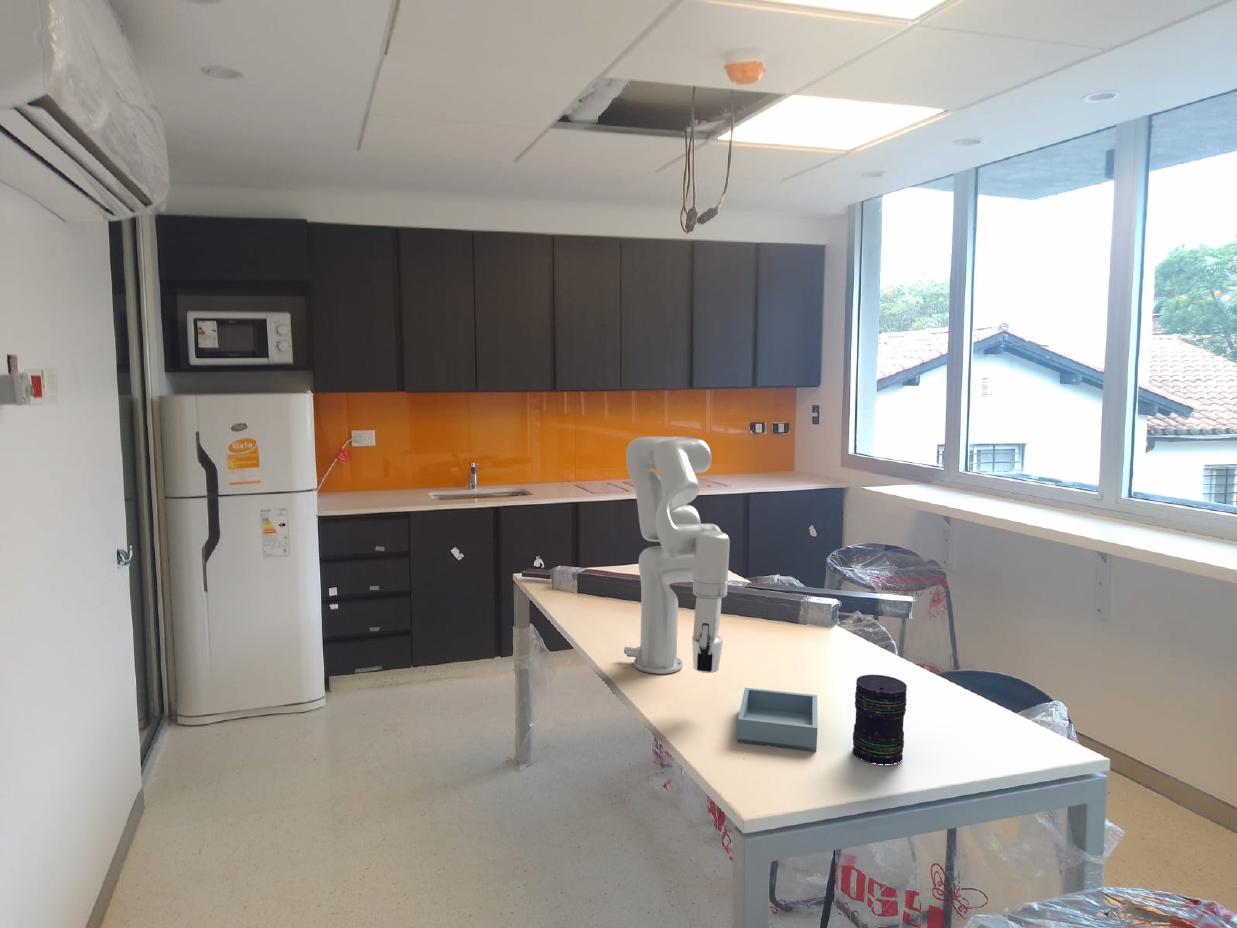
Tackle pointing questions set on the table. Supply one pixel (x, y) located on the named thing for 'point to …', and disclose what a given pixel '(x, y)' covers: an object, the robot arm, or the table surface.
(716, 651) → the white cup
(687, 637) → the table surface
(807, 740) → the open box
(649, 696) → the table surface
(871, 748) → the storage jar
